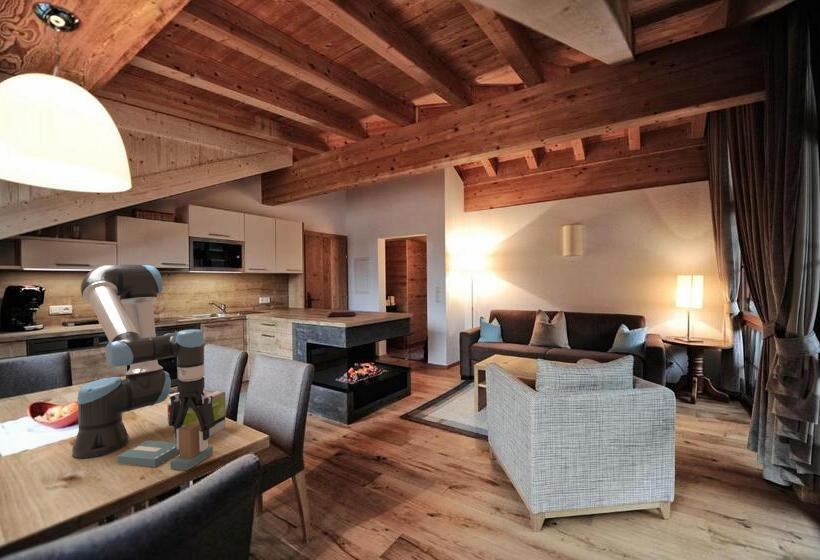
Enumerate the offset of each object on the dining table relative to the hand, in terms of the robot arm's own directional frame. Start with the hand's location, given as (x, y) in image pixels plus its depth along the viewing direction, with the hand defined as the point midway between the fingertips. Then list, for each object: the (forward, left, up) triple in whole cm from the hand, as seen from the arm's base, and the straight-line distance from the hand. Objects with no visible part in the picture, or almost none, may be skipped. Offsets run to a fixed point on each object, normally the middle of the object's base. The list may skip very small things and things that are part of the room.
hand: (192, 448), depth 119 cm
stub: (0, 0, -4) cm, 4 cm away
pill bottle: (-32, +28, -4) cm, 42 cm away
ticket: (-16, 0, -4) cm, 16 cm away
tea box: (-12, +18, -4) cm, 22 cm away
